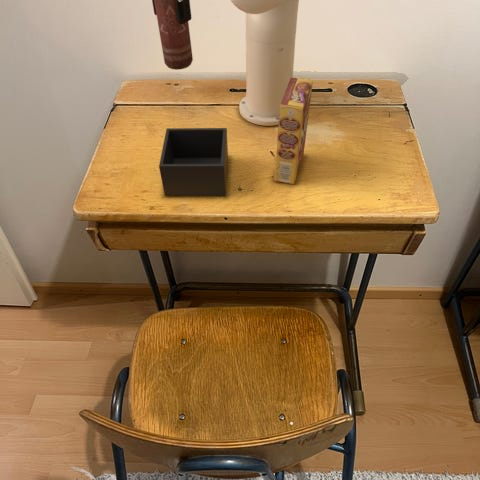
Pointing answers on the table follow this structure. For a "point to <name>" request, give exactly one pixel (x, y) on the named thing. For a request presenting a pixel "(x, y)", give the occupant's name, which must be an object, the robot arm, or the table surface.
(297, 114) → the candy box
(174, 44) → the can
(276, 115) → the robot arm
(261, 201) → the table surface
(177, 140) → the bin
